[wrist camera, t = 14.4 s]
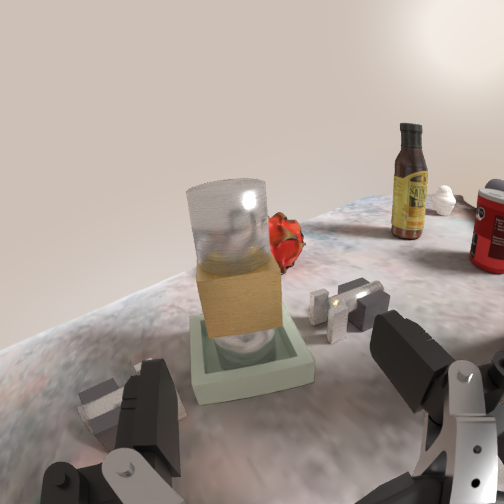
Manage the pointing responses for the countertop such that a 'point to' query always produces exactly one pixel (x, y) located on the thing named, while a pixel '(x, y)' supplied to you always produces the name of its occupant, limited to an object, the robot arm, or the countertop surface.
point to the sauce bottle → (409, 184)
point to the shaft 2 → (348, 307)
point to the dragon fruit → (285, 240)
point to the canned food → (489, 232)
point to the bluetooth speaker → (495, 184)
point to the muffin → (444, 200)
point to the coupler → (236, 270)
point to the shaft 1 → (108, 410)
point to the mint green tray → (248, 378)
